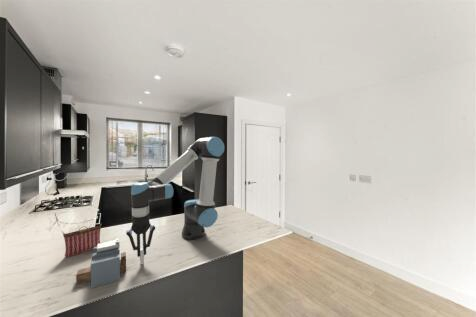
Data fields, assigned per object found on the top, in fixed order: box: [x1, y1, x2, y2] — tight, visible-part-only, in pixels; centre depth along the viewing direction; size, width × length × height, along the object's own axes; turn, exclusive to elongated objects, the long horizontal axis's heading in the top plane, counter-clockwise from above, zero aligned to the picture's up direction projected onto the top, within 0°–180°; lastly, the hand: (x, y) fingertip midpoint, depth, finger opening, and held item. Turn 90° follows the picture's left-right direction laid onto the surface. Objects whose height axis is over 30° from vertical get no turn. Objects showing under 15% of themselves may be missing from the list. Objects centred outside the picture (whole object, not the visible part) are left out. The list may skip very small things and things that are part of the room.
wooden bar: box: [75, 251, 127, 285], centre depth 87 cm, size 18×4×7 cm, turn 121°
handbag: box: [52, 213, 102, 259], centre depth 103 cm, size 7×21×25 cm, turn 141°
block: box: [90, 244, 121, 289], centre depth 88 cm, size 10×16×12 cm, turn 32°
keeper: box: [97, 237, 120, 254], centre depth 88 cm, size 8×5×4 cm, turn 122°
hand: (142, 261), depth 95 cm, fingers closed
